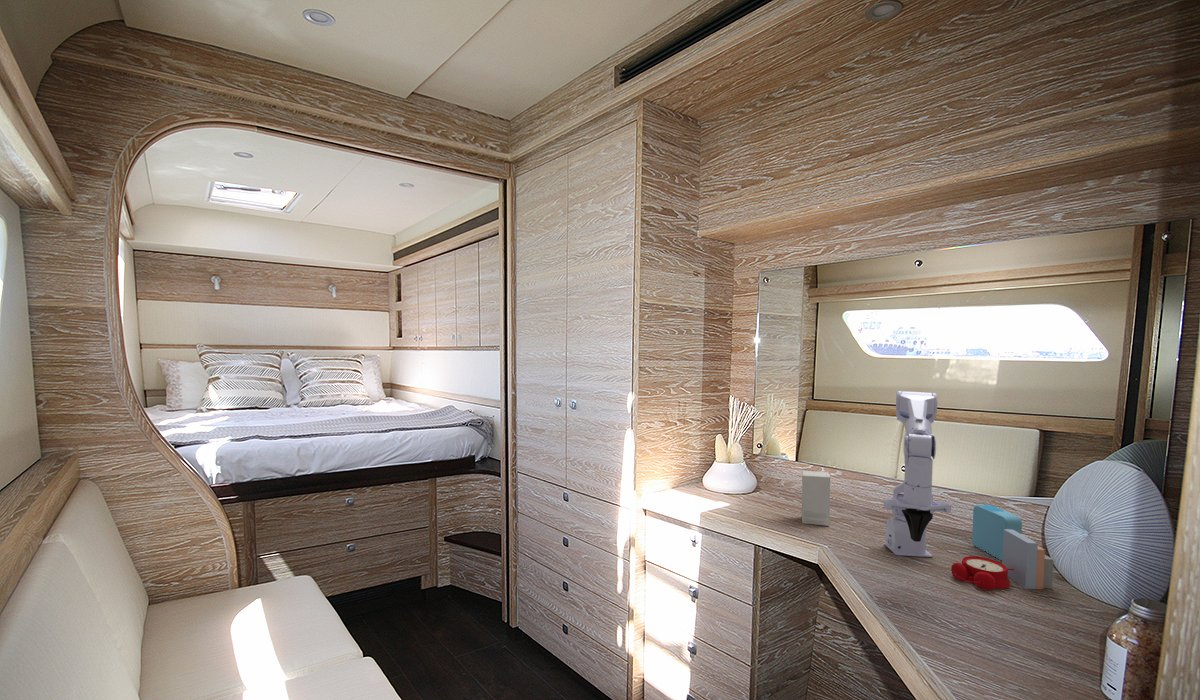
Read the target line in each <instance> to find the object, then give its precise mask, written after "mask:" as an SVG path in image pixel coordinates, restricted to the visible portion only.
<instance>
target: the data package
mask: <svg viewBox="0 0 1200 700" xmlns="http://www.w3.org/2000/svg"><path fill="white" fill-rule="evenodd" d="M971 529H972V531H971V532H972V533H971V541H972V544H973V546H974V545H975V546H976V547H975V546H974V547H975V548H977V547H978V548H977V549H979V548H980V549H979V550H981V549H982V550H984V551H986V552H987V554H988V553H989V554H988V555H990V554H991V555H990V556H992V557H993V556H994V557H993V558H995V557H996V558H995V559H997V560H1000V561H1001V560H1002V556H1003V535H1004V529H1010V530H1015V531H1016V532H1018V533H1020V534H1022V531H1023V522H1022V519H1021V518H1020V517H1019V516H1018V515H1015V514H1014V513H1011V512H1009V511H1006V510H1004V509H1001V508H999V507H997V506H994V505H992V504H975V505H974V506H973V510H972V528H971ZM1022 535H1023V534H1022ZM982 550H981V551H982ZM984 551H983V552H984ZM986 552H985V553H986Z"/></svg>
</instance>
